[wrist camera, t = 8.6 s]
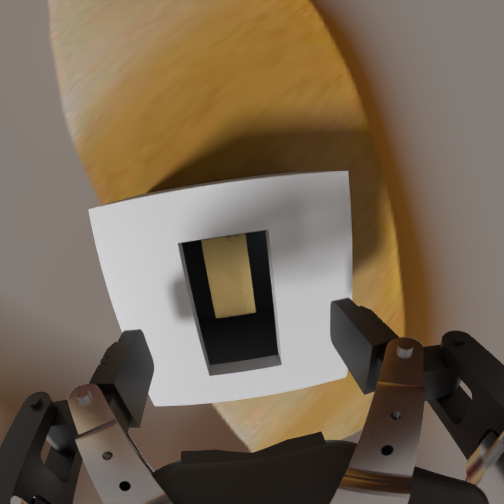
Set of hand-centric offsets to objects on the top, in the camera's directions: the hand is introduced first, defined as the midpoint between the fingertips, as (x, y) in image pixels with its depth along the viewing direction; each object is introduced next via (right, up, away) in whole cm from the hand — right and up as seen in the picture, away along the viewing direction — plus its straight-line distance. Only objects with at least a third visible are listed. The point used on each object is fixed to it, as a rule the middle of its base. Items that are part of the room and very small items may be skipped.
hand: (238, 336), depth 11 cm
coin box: (-1, +3, +12) cm, 12 cm away
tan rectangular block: (-1, +3, +8) cm, 9 cm away
